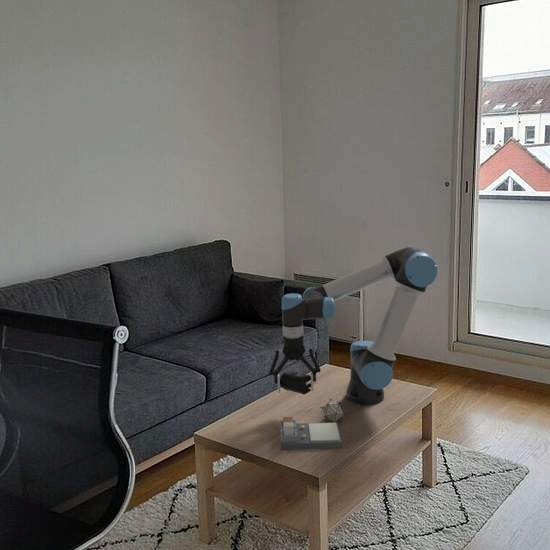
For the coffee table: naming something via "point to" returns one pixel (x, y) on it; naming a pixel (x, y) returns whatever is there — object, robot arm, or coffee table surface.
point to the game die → (332, 411)
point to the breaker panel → (311, 436)
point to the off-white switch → (288, 428)
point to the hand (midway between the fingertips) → (295, 390)
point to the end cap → (295, 382)
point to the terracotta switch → (287, 419)
